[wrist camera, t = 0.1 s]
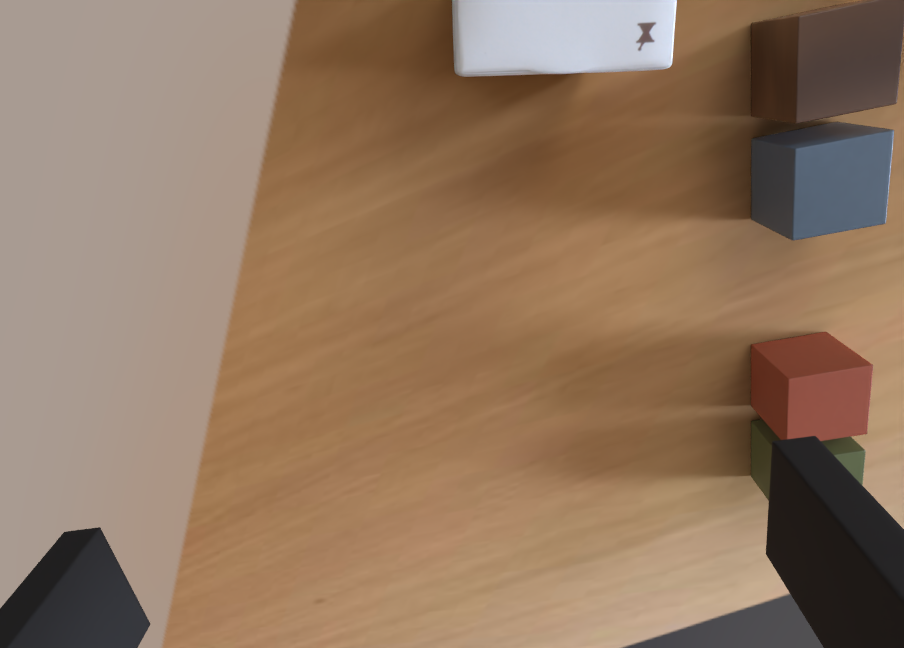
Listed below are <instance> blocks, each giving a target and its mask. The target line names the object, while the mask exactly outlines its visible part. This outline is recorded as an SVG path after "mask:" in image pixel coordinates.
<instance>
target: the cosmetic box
mask: <svg viewBox="0 0 904 648" xmlns="http://www.w3.org/2000/svg"><path fill="white" fill-rule="evenodd" d="M676 2H677V0H452V20H453V49H454V70H455V73H456V74H457V75H459V76H463V77H473V76H503V75H532V74H573V73H600V72H624V71H649V70H661V69H667V68H669V67H670V66H671V65H672V59H673V45H674V30H675V16H676Z"/></svg>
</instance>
